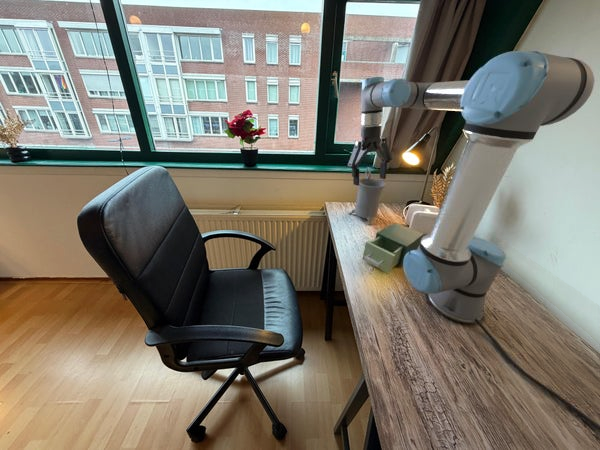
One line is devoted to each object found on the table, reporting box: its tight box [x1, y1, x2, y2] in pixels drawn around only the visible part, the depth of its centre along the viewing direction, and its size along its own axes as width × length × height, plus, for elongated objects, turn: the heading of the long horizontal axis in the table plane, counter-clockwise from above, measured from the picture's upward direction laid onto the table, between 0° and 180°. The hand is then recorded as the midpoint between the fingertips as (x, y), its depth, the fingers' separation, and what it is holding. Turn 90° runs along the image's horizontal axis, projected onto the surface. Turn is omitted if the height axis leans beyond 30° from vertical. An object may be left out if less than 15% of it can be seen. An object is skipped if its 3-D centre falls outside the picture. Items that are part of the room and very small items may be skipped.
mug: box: [349, 167, 387, 225], centre depth 126 cm, size 19×15×25 cm
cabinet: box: [374, 222, 425, 268], centre depth 100 cm, size 15×13×10 cm
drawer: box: [362, 236, 405, 275], centre depth 93 cm, size 18×11×8 cm, turn 133°
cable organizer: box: [404, 203, 440, 235], centre depth 118 cm, size 15×11×12 cm
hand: (369, 181), depth 100 cm, fingers open, 13 cm apart
